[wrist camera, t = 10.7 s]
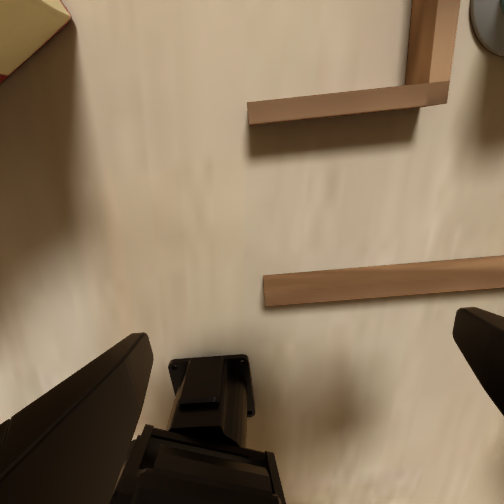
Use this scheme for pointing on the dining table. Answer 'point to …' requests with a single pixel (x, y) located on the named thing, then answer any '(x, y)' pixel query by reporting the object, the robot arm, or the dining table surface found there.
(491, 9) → the pad
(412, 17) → the channel
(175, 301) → the dining table surface
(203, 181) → the dining table surface
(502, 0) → the peg
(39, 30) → the gift box
